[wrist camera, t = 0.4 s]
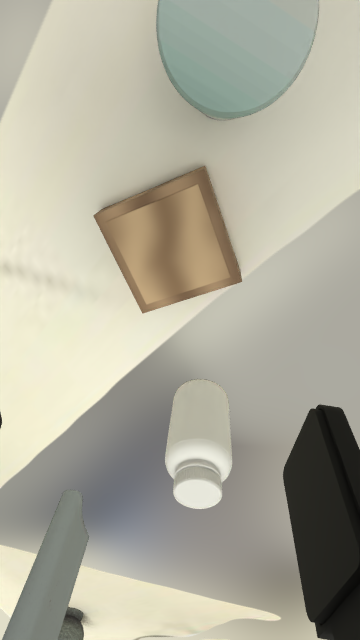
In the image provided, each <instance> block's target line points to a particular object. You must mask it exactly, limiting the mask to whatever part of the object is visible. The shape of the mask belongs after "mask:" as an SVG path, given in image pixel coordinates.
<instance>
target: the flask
mask: <svg viewBox="0 0 360 640" xmlns="http://www.w3.org/2000/svg"><path fill="white" fill-rule="evenodd" d="M82 501H83V496H82V494H81V493H80V492H79V491H75V490H66V491H64V492H63V495H62V497H61V500H60V502H59V504H58V507H57V509H56V511H55V514H54V516H53V518H52V521H51V523H50V526H49V528H48V531H47V533H46V536H45V538H44V540H43V543H42V545H41V548H40V550H39V552H38V555H37V557H36V559H35V562H34V564H33V567H32V569H31V571H30V574H29V576H28V579H27V581H26V583H25V586H24V588H23V591H22V593H21V595H20V598H19V600H18V603H17V605H16V607H15V610H14V612H13V615H12V617H11V619H10V622H9V624H8V627H7V629H6V631H5V634H4V636H3V639H2V640H58V636H59V633H60V630H61V627H62V623H63V620H64V617H65V614H66V611H67V607H68V604H69V601H70V598H71V594H72V591H73V588H74V585H75V581H76V578H77V575H78V572H79V568H80V565H81V562H82V559H83V555H84V552H85V549H86V546H87V542H88V539H89V535H88V533H87V530H86V528H85V525H84V521H83V517H82Z"/></svg>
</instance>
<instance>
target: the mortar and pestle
mask: <svg viewBox="0 0 360 640" xmlns="http://www.w3.org/2000/svg"><path fill="white" fill-rule="evenodd" d="M82 617H83V613H82V612H81V611H80V610H77V609H75V608H70V607H67V611H66V614H65V617H64V620H63V623H62V627H61V630H60V633H59V636H58V640H83V637H84V631H83V626H82V624H81V622H80V621H81V619H82Z"/></svg>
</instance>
